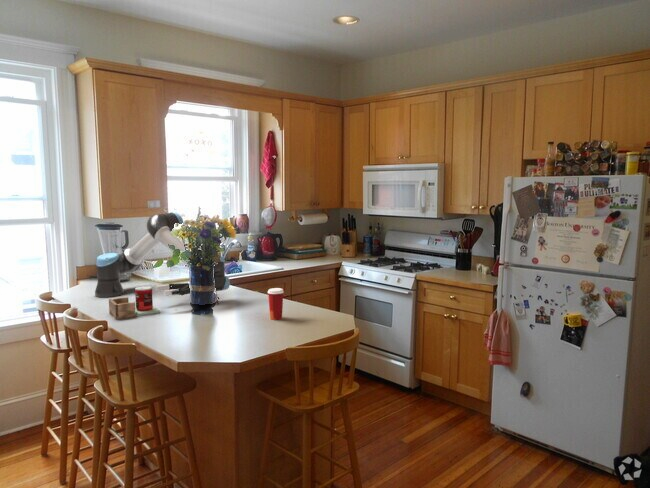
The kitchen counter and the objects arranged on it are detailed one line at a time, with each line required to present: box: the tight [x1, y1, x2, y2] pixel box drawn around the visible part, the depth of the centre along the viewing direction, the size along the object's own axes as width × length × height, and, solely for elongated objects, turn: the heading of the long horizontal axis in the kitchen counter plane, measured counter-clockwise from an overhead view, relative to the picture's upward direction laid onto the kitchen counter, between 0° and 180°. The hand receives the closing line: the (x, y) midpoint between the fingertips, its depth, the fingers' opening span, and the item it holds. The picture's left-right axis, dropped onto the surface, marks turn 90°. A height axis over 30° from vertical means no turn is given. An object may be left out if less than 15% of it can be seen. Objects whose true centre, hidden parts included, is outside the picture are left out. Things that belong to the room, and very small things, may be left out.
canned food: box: [134, 285, 154, 311], centre depth 248 cm, size 8×8×11 cm
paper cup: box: [267, 287, 285, 321], centre depth 235 cm, size 8×8×14 cm
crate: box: [108, 296, 161, 320], centre depth 245 cm, size 20×14×7 cm
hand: (160, 291), depth 252 cm, fingers open, 13 cm apart
